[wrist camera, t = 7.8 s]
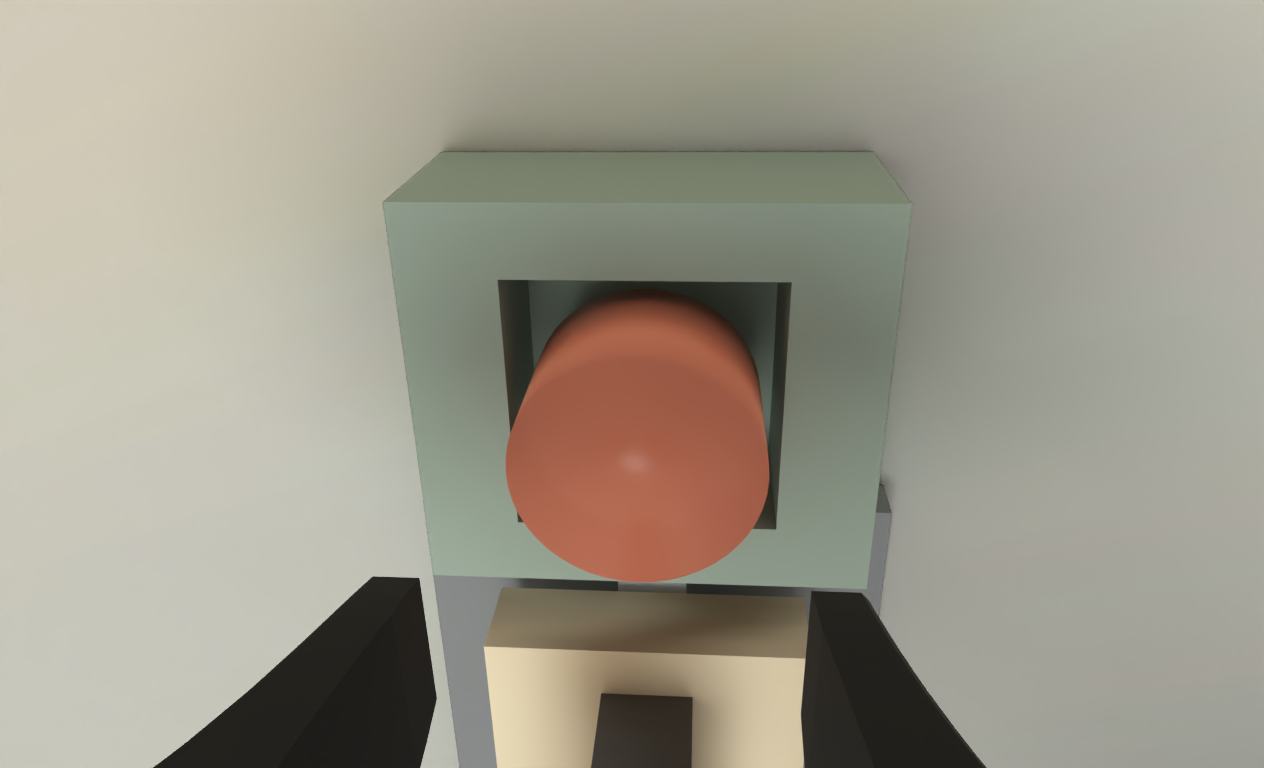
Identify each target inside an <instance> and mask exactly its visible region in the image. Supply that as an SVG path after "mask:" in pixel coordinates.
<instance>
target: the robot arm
mask: <svg viewBox="0 0 1264 768" xmlns="http://www.w3.org/2000/svg"><path fill="white" fill-rule="evenodd" d="M436 700H437V698H436V691H435V684H434V677H433V670H432V663H431V656H430V649H429V642H428V635H427V629H426V622H425V615H424V608H423V601H422V594H421V587H420V580H419V578H399V577H372V578H371V579H370V580H369V581H367V582H366V583H365V584H364V585H363V586H362V587H361V588H360V589H359V590H358V591H356V592H355V593H354V594H353V595H352V596H351V597H350V598H349V599H348V600H347V601H346V602H345V603H344V604H342V605H341V606H340V607H339V608H338V609H337V610H336V611H335V612H334V613H333V614H332V615H331V616H330V617H329V618H328V619H327V620H325V621H324V622H323V623H322V624H321V625H320V626H319V627H318V628H317V629H316V630H315V631H314V632H313V633H312V634H311V635H309V636H308V637H307V638H306V639H305V640H304V641H303V642H302V643H301V644H300V645H299V646H298V647H297V648H296V649H295V650H293V651H292V652H291V653H290V654H289V655H288V656H287V657H286V658H285V659H283V660H282V661H281V662H280V663H279V664H278V665H277V666H276V667H275V668H274V669H272V670H271V671H270V672H269V673H268V674H267V675H266V676H265V677H264V678H262V679H261V680H260V681H259V682H258V683H257V684H256V685H255V686H254V687H252V688H251V689H250V690H249V691H248V692H247V693H246V694H244V695H243V696H242V697H241V698H240V699H238V700H237V701H236V702H235V703H233V704H232V705H231V706H230V707H229V708H227V709H226V710H225V711H224V712H223V713H221V714H220V715H219V716H218V717H217V718H215V719H214V720H213V721H212V722H211V723H209V724H208V725H207V726H206V727H205V728H203V729H202V730H201V731H200V732H199V733H197V734H196V735H195V736H194V737H193V738H191V739H190V740H189V741H188V742H186V743H185V744H184V745H182V746H181V747H180V748H179V749H177V750H176V751H175V752H173V753H172V754H171V755H170V756H168V757H167V758H166V759H164V760H163V761H161V762H160V763H159V764H157V765H156V766H155V767H153V768H420V766H421V762H422V758H423V754H424V750H425V746H426V743H427V738H428V734H429V730H430V726H431V721H432V717H433V713H434V708H435V704H436ZM801 725H802V739H803V753H804V766H805V768H986V767H985V765H984V764H983V763H982V762H981V761H980V759H979V758H978V757H977V756H976V754H975V753H974V752H973V751H972V749H971V748H970V747H969V746H968V744H967V743H966V742H965V740H964V739H963V738H962V737H961V735H960V734H959V733H958V732H957V730H956V729H955V728H954V726H953V725H952V724H951V722H950V721H949V719H948V718H947V717H946V715H945V714H944V713H943V711H942V710H941V709H940V707H939V706H938V705H937V703H936V702H935V701H934V699H933V698H932V697H931V695H930V694H929V692H928V691H927V690H926V688H925V687H924V685H923V684H922V683H921V681H920V680H919V678H918V677H917V675H916V674H915V673H914V671H913V670H912V668H911V667H910V665H909V664H908V662H907V661H906V659H905V658H904V656H903V655H902V653H901V652H900V650H899V649H898V647H897V645H896V644H895V642H894V641H893V639H892V638H891V636H890V634H889V633H888V631H887V630H886V628H885V626H884V625H883V623H882V621H881V620H880V618H879V616H878V615H877V613H876V611H875V610H874V608H873V606H872V604H871V603H870V601H869V600H868V599H867V598H866V597H865V596H864V595H863V594H862V593H857V592H826V591H811V601H810V612H809V624H808V635H807V647H806V659H805V670H804V682H803V693H802V705H801Z"/></svg>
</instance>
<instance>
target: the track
mask: <svg viewBox="0 0 1264 768" xmlns="http://www.w3.org/2000/svg"><path fill="white" fill-rule="evenodd" d="M423 503H424V502H423ZM424 511H425V509H424ZM891 517H892V512H891V509H890V505H889V502H888V499H887V496H886V493H885V490H884V486H883V485H879V489H878V497H877V505H876V514H875V522H874V531H873V539H872V548H871V556H870V564H869V573H868V581H867V589H846V588H815V587H784V586H753V585H723V584H692V583H661V582H630V581H599V580H569V579H538V578H507V577H476V576H446V575H433V577H434V584H435V591H436V599H437V606H438V613H439V621H440V628H441V635H442V643H443V650H444V657H445V665H446V672H447V679H448V687H449V694H450V701H451V709H452V716H453V723H454V731H455V738H456V745H457V753H458V760H459V767H460V768H497V761H496V752H495V743H494V734H493V725H492V716H491V707H490V698H489V689H488V680H487V671H486V662H485V653H484V644H485V641H486V638H487V635H488V631H489V628H490V625H491V622H492V618H493V615H494V612H495V609H496V606H497V602H498V599H499V596H500V593H501V589H502V587H505V588H535V589H565V590H595V591H625V592H655V593H685V594H715V595H745V596H775V597H804V601H805V608H806V615H807V622H808V624H809V612H810V601H811V591H826V592H857V593H862V594H863V595H864V596H865V597H866V598H867V599H868V600H869V601H870V603H871V604H872V606H873V608H874V610H875V611H876V613H877V615H878V616H879V610H880V603H881V595H882V587H883V579H884V571H885V563H886V556H887V548H888V540H889V532H890V524H891ZM425 518H426V517H425ZM426 525H427V524H426ZM427 533H428V531H427ZM428 540H429V539H428ZM429 547H430V546H429ZM430 555H431V553H430ZM431 562H432V561H431ZM432 569H433V568H432ZM803 768H805V766H804V763H803Z"/></svg>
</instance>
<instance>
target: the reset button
mask: <svg viewBox="0 0 1264 768" xmlns="http://www.w3.org/2000/svg"><path fill="white" fill-rule="evenodd" d="M506 478H507V484H508V489H509V492H510V495H511V498H512V501H513V503H514V505H515V508H516V510H517V512H518V514H519V516H520V517H521V519H522V520H523V522H524V523H525V525H526V526H527V528H528V529H529V530H530V531H531V532H532V534H533V535H534V536H535V537H536V538H537V539H538V540H539V541H540V542H541V543H542V544H543V545H544V546H545V547H546V548H547V549H549V550H550V551H551V552H553V553H554V554H555V555H557V556H558V557H560V558H561V559H563V560H564V561H566V562H568V563H570V564H572V565H573V566H575V567H577V568H580V569H582V570H584V571H587V572H589V573H592V574H595V575H598V576H602V577H605V578H610V579H615V580H620V581H630V582H657V581H665V580H672V579H676V578H680V577H684V576H687V575H690V574H693V573H696V572H698V571H701V570H703V569H705V568H707V567H709V566H711V565H713V564H715V563H716V562H718V561H719V560H721V559H722V558H724V557H725V556H727V555H728V554H729V553H730V552H732V551H733V550H734V549H735V548H736V547H737V546H738V545H739V544H740V543H741V542H742V541H743V540H744V539H745V538H746V536H747V535H748V534H749V533H750V531H751V530H752V528H753V527H754V525H755V524H756V522H757V520H758V518H759V516H760V514H761V512H762V510H763V507H764V504H765V500H766V497H767V493H768V486H769V459H768V451H767V442H766V433H765V425H764V416H763V408H762V399H761V390H760V382H759V377H758V371H757V367H756V364H755V361H754V358H753V356H752V354H751V352H750V350H749V348H748V346H747V344H746V343H745V341H744V340H743V338H742V337H741V335H740V334H739V332H738V331H737V330H736V329H735V328H734V327H733V326H732V325H731V324H730V323H729V322H728V321H727V320H726V319H725V318H724V317H723V316H721V315H720V314H719V313H718V312H716V311H715V310H713V309H712V308H710V307H709V306H707V305H705V304H703V303H701V302H699V301H697V300H695V299H693V298H691V297H688V296H685V295H682V294H679V293H675V292H670V291H665V290H658V289H630V290H624V291H618V292H614V293H610V294H607V295H604V296H601V297H599V298H596V299H594V300H592V301H590V302H588V303H586V304H584V305H583V306H581V307H580V308H578V309H577V310H575V311H574V312H573V313H571V314H570V315H569V316H568V317H567V318H565V319H564V320H563V321H562V322H561V324H560V325H559V326H558V327H557V328H556V329H555V330H554V332H553V333H552V335H551V336H550V338H549V339H548V341H547V342H546V344H545V347H544V349H543V351H542V353H541V355H540V358H539V360H538V363H537V366H536V368H535V371H534V373H533V376H532V379H531V381H530V384H529V386H528V389H527V391H526V394H525V397H524V399H523V402H522V404H521V407H520V410H519V412H518V415H517V417H516V420H515V422H514V425H513V428H512V430H511V434H510V437H509V440H508V444H507V451H506Z"/></svg>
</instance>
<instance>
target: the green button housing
mask: <svg viewBox="0 0 1264 768" xmlns="http://www.w3.org/2000/svg"><path fill="white" fill-rule="evenodd" d="M383 208H384V215H385V223H386V230H387V237H388V245H389V252H390V259H391V267H392V274H393V281H394V289H395V296H396V304H397V311H398V318H399V326H400V333H401V340H402V348H403V355H404V362H405V370H406V377H407V384H408V392H409V399H410V406H411V414H412V421H413V428H414V436H415V443H416V450H417V458H418V465H419V472H420V480H421V487H422V495H423V502H424V509H425V517H426V524H427V531H428V539H429V546H430V553H431V561H432V568H433V575H446V576H476V577H507V578H538V579H569V580H599V581H620V580H615V579H610V578H605V577H602V576H598V575H595V574H592V573H589V572H587V571H584V570H582V569H580V568H577V567H575V566H573V565H572V564H570V563H568V562H566V561H564V560H563V559H561V558H560V557H558V556H557V555H555V554H554V553H553V552H551V551H550V550H549V549H547V548H546V547H545V546H544V545H543V544H542V543H541V542H540V541H539V540H538V539H537V538H536V537H535V536H534V535H533V534H532V532H531V531H530V530H529V529H528V528H527V526H526V525H525V523H524V522H523V520H522V519H521V517H520V516H519V514H518V512H517V510H516V508H515V505H514V503H513V501H512V498H511V495H510V492H509V489H508V484H507V478H506V451H507V444H508V440H509V437H510V434H511V430H512V428H513V425H514V422H515V420H516V417H517V415H518V412H519V410H520V407H521V404H522V402H523V399H524V397H525V394H526V391H527V389H528V386H529V384H530V381H531V379H532V376H533V373H534V371H535V368H536V366H537V363H538V360H539V358H540V355H541V353H542V351H543V349H544V347H545V344H546V342H547V341H548V339H549V338H550V336H551V335H552V333H553V332H554V330H555V329H556V328H557V327H558V326H559V325H560V324H561V322H562V321H563V320H564V319H565V318H567V317H568V316H569V315H570V314H571V313H573V312H574V311H575V310H577V309H578V308H580V307H581V306H583V305H584V304H586V303H588V302H590V301H592V300H594V299H596V298H599V297H601V296H604V295H607V294H610V293H614V292H618V291H624V290H630V289H658V290H665V291H670V292H675V293H679V294H682V295H685V296H688V297H691V298H693V299H695V300H697V301H699V302H701V303H703V304H705V305H707V306H709V307H710V308H712V309H713V310H715V311H716V312H718V313H719V314H720V315H721V316H723V317H724V318H725V319H726V320H727V321H728V322H729V323H730V324H731V325H732V326H733V327H734V328H735V329H736V330H737V331H738V332H739V334H740V335H741V337H742V338H743V340H744V341H745V343H746V344H747V346H748V348H749V350H750V352H751V354H752V356H753V358H754V361H755V364H756V367H757V371H758V377H759V382H760V390H761V399H762V408H763V416H764V425H765V433H766V442H767V451H768V459H769V486H768V493H767V497H766V500H765V504H764V507H763V510H762V512H761V514H760V516H759V518H758V520H757V522H756V524H755V525H754V527H753V528H752V530H751V531H750V533H749V534H748V535H747V536H746V538H745V539H744V540H743V541H742V542H741V543H740V544H739V545H738V546H737V547H736V548H735V549H734V550H733V551H732V552H730V553H729V554H728V555H727V556H725V557H724V558H722V559H721V560H719V561H718V562H716V563H715V564H713V565H711V566H709V567H707V568H705V569H703V570H701V571H698V572H696V573H693V574H690V575H687V576H684V577H680V578H676V579H672V580H665V581H657V582H661V583H692V584H723V585H753V586H784V587H815V588H846V589H867V581H868V573H869V564H870V556H871V548H872V539H873V531H874V522H875V514H876V505H877V497H878V489H879V480H880V472H881V463H882V455H883V446H884V438H885V429H886V421H887V413H888V404H889V396H890V387H891V379H892V370H893V362H894V354H895V345H896V337H897V328H898V320H899V311H900V303H901V295H902V286H903V278H904V269H905V261H906V252H907V244H908V236H909V227H910V219H911V210H912V203H911V201H910V200H909V199H908V197H907V196H906V195H905V193H904V192H903V191H902V189H901V188H900V187H899V185H898V184H897V183H896V181H895V180H894V179H893V177H892V176H891V175H890V173H889V172H888V170H887V169H886V168H885V166H884V165H883V164H882V162H881V161H880V160H879V158H878V157H877V156H876V154H875V153H874V152H441V153H440V154H439V155H437V156H436V157H435V158H434V159H433V160H432V161H430V162H429V163H428V164H427V165H426V166H424V167H423V168H422V169H421V170H420V171H419V172H417V173H416V174H415V175H414V176H413V177H412V178H410V179H409V180H408V181H407V182H406V183H405V184H403V185H402V186H401V187H400V188H399V189H397V190H396V191H395V192H394V193H393V194H392V195H390V196H389V197H388V198H387V199H386V200H385V201H383Z"/></svg>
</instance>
